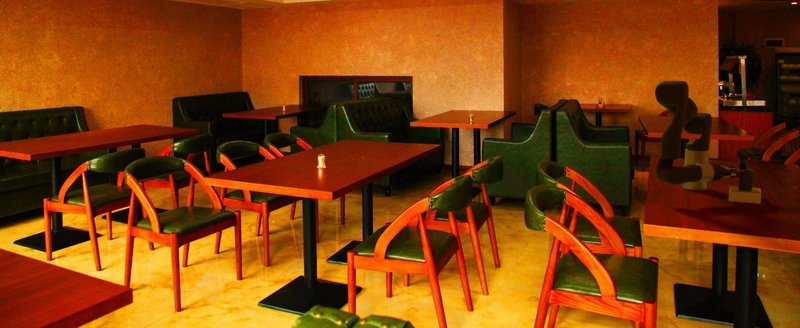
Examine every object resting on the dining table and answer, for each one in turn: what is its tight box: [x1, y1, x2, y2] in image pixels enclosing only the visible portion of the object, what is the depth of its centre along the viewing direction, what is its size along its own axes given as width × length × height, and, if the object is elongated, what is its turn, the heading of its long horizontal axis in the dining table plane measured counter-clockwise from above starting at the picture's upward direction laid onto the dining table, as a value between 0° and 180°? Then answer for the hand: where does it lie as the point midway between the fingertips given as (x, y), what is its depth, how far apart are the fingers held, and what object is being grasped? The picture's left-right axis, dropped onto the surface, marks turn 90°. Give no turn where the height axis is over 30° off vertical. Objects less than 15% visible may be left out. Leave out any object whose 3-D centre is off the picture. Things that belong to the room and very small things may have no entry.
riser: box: [728, 185, 762, 204], centre depth 251 cm, size 11×11×4 cm
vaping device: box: [738, 158, 754, 190], centre depth 249 cm, size 3×5×12 cm, turn 52°
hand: (742, 170), depth 249 cm, fingers open, 8 cm apart
